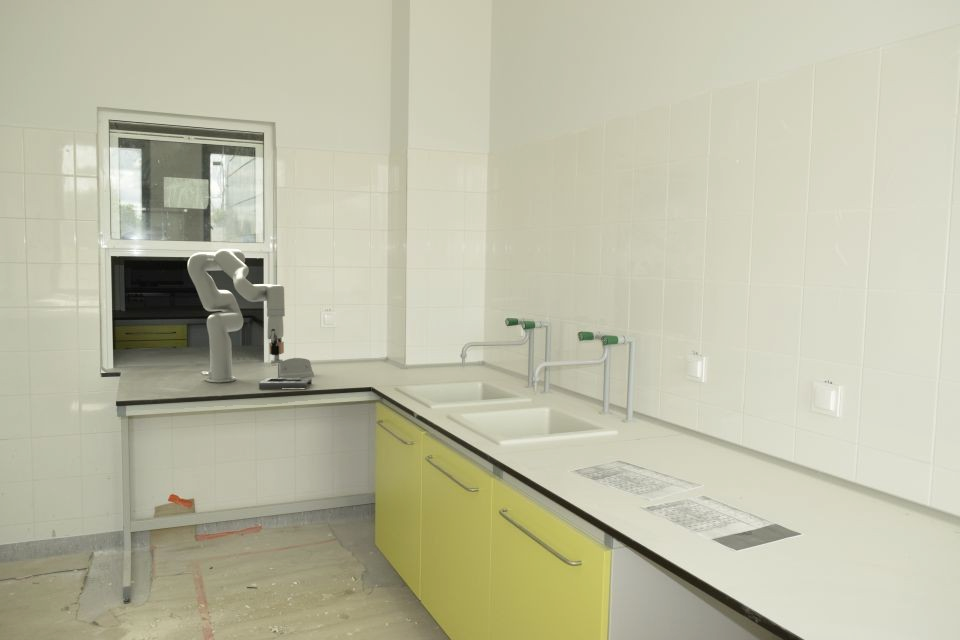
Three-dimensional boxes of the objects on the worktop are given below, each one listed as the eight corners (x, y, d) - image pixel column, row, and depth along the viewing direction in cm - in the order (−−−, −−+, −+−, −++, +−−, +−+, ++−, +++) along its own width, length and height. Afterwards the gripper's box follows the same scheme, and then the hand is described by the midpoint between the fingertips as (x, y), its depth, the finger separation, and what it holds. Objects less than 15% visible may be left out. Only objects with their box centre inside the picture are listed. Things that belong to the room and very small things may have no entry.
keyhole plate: (259, 389, 314) (259, 382, 313) (267, 383, 327) (267, 377, 326) (305, 389, 314) (305, 383, 314) (311, 383, 327) (311, 377, 327)
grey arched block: (281, 379, 339) (278, 358, 340) (277, 381, 342) (275, 360, 344) (314, 376, 348) (311, 355, 350) (311, 377, 352) (308, 357, 354)
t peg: (269, 363, 317) (269, 342, 316) (272, 361, 322) (272, 341, 321) (281, 363, 317) (280, 342, 316) (284, 361, 322) (283, 341, 321)
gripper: (272, 311, 326) (273, 351, 327) (261, 314, 309) (262, 356, 310) (288, 311, 326) (289, 351, 328) (279, 314, 309) (280, 356, 311)
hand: (276, 353), depth 319 cm, fingers closed on t peg, 5 cm apart
